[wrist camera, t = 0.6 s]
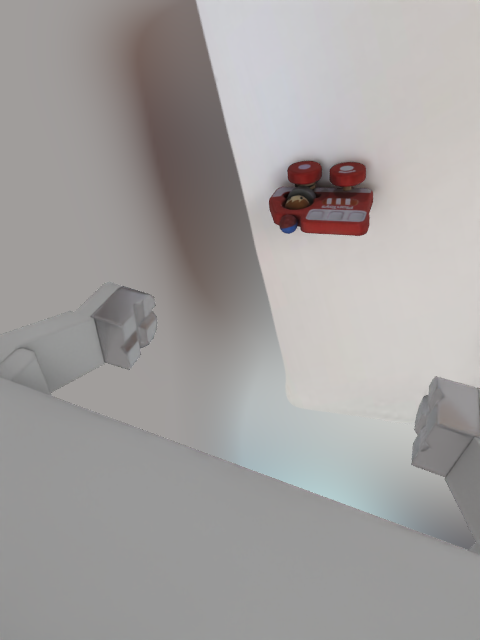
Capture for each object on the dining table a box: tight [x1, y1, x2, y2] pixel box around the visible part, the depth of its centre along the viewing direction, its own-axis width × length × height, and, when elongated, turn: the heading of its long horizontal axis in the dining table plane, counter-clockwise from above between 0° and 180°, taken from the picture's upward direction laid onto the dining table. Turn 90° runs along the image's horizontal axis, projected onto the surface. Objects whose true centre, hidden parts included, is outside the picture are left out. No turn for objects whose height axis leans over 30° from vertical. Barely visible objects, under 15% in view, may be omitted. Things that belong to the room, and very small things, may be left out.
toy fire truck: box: [269, 161, 373, 236], centre depth 51 cm, size 7×12×10 cm, turn 97°
